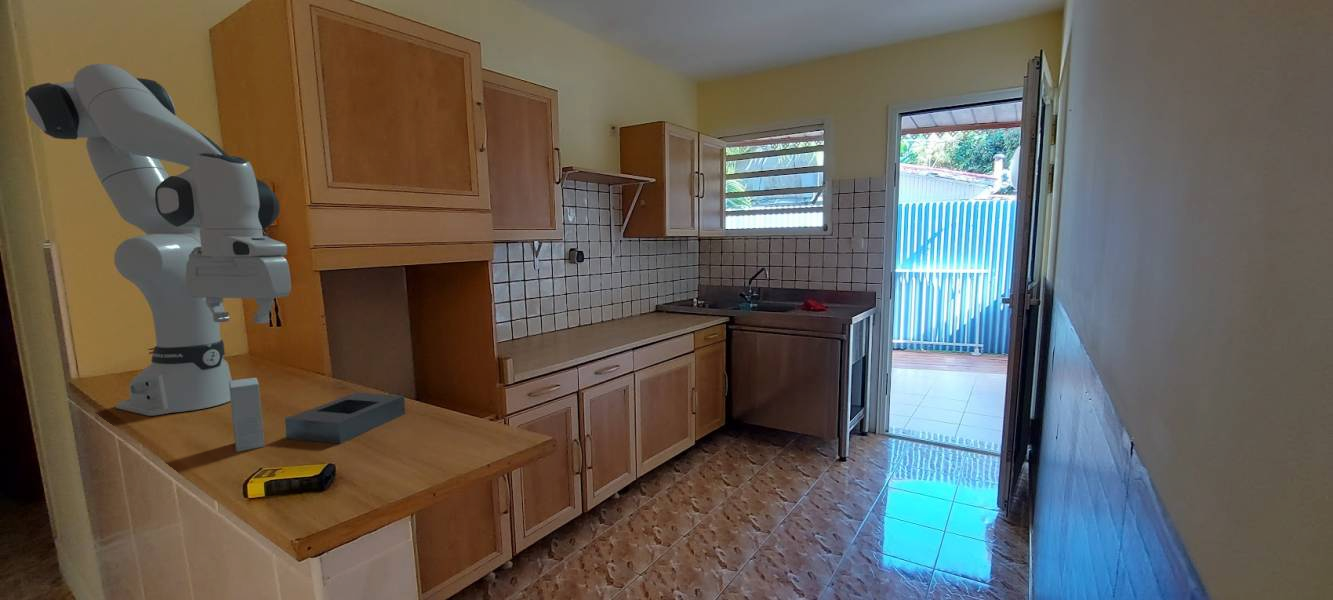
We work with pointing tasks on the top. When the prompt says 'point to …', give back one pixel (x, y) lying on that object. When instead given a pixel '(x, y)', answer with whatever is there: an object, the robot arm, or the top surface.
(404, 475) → the top surface
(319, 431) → the grey slotted block
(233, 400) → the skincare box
